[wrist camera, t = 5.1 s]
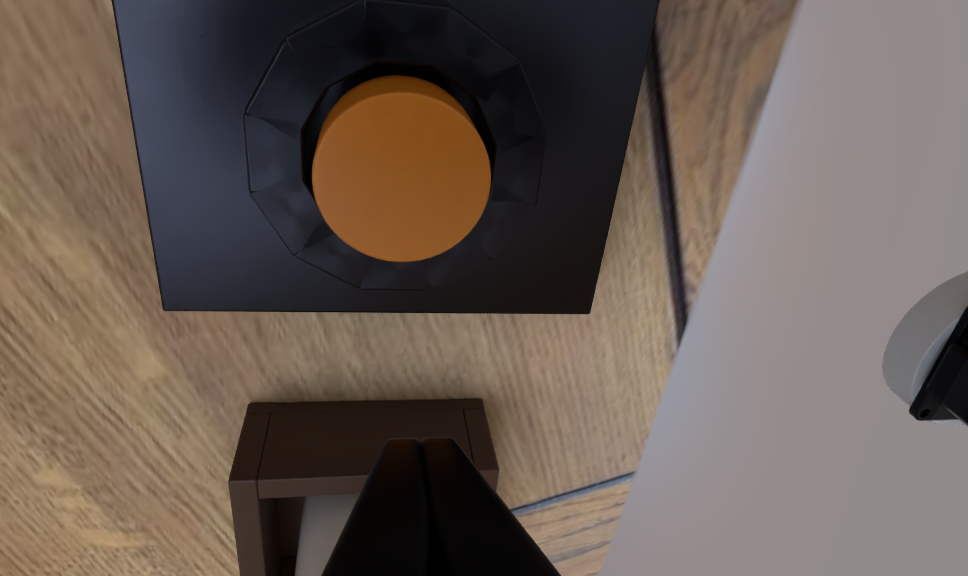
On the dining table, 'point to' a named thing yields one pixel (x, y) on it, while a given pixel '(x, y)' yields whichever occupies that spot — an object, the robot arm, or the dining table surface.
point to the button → (400, 169)
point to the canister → (321, 530)
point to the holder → (328, 463)
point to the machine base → (300, 116)
